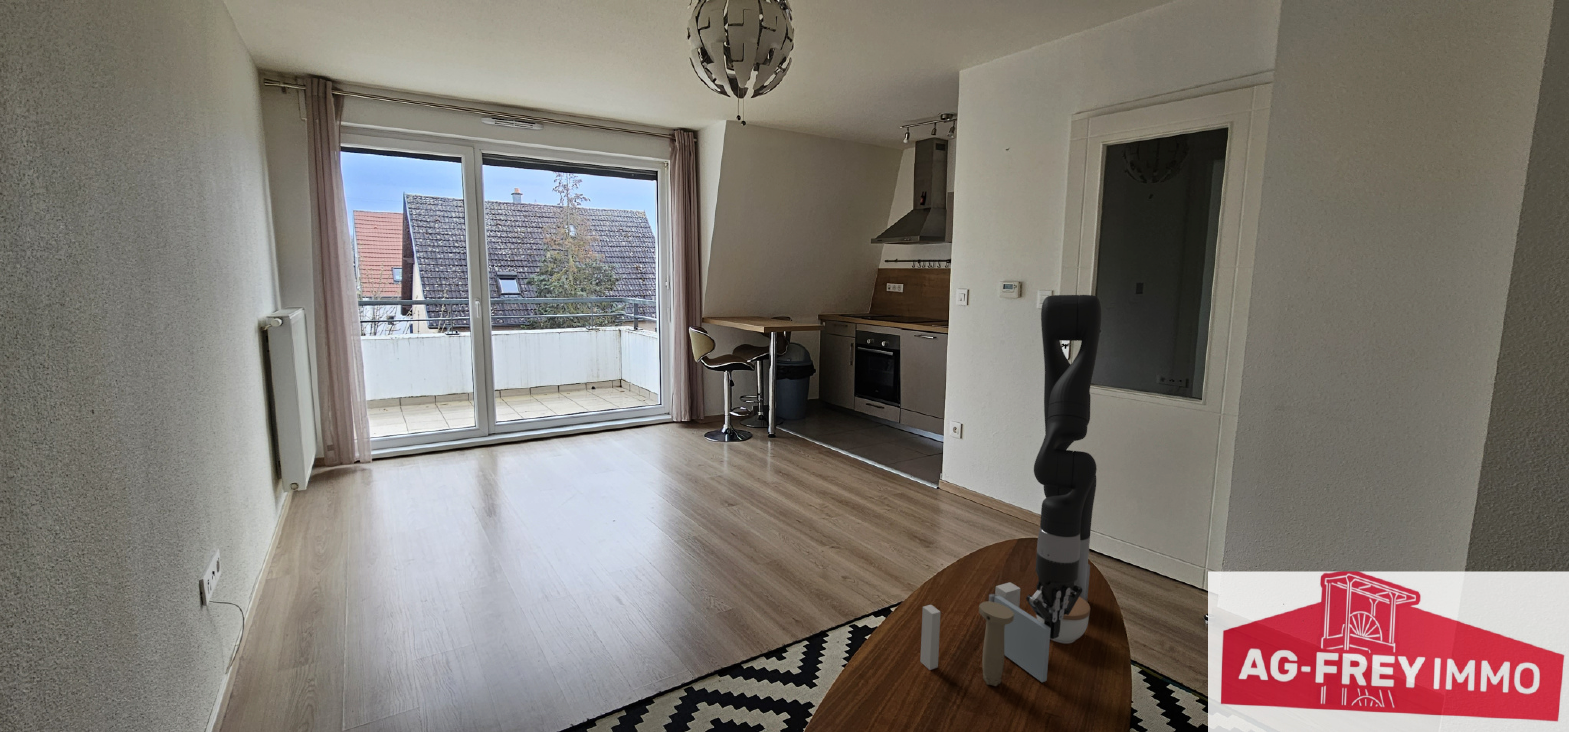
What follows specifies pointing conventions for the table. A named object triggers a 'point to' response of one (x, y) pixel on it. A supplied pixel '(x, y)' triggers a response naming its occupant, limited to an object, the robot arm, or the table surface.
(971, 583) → the table surface
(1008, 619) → the tan tapered grip
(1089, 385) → the robot arm
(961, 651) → the table surface
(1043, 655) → the door
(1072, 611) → the lidded jar
